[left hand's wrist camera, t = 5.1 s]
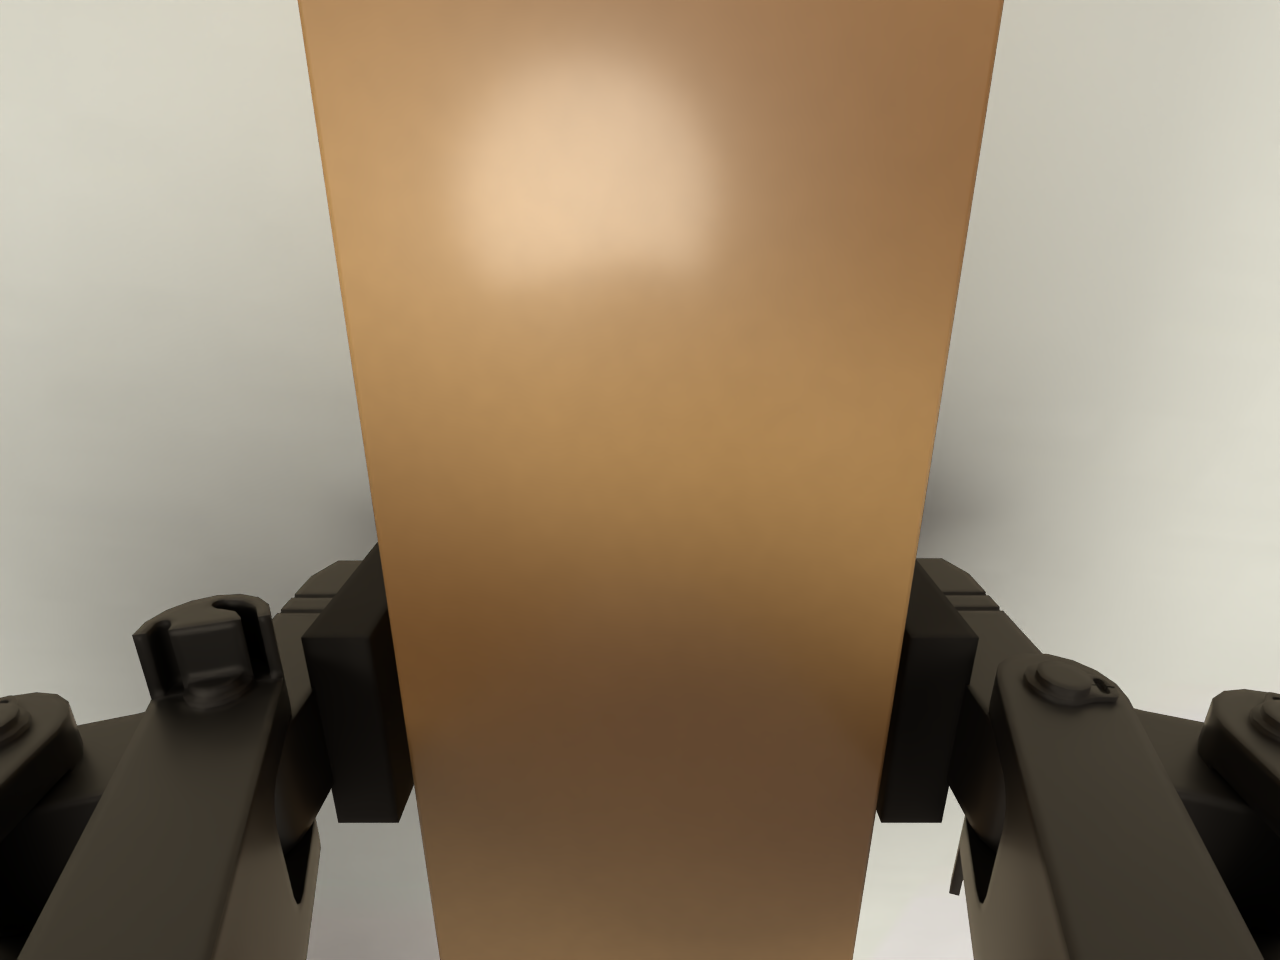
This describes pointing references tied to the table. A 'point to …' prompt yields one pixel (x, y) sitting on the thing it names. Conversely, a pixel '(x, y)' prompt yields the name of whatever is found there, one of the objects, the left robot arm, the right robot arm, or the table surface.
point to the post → (648, 437)
